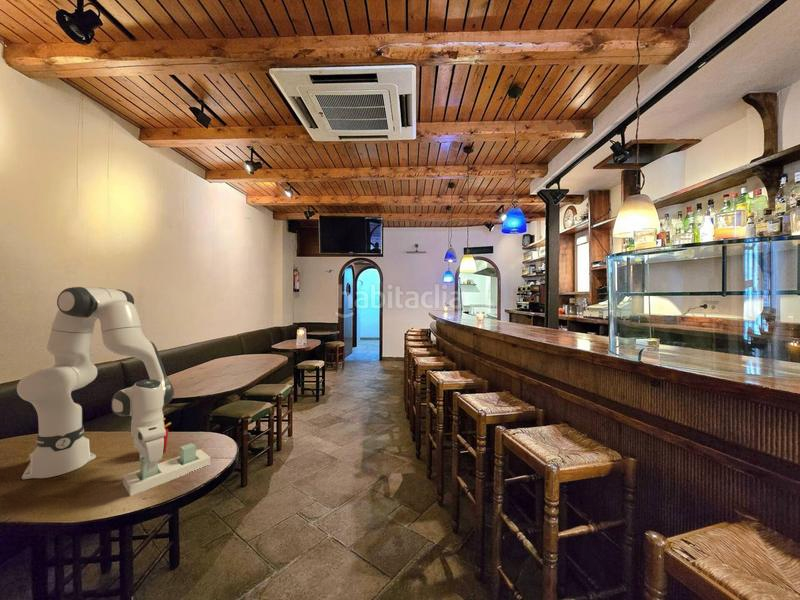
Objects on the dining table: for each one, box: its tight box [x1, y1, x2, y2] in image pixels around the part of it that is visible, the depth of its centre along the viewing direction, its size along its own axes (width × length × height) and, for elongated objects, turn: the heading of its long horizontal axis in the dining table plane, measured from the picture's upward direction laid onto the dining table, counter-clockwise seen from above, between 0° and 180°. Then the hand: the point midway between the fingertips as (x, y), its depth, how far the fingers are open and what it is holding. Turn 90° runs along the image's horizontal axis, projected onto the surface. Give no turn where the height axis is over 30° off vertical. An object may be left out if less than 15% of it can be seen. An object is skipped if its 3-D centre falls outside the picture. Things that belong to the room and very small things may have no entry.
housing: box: [122, 442, 211, 497], centre depth 114 cm, size 10×24×8 cm, turn 142°
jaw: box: [139, 459, 159, 480], centre depth 109 cm, size 4×4×8 cm
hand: (147, 466), depth 109 cm, fingers open, 8 cm apart
